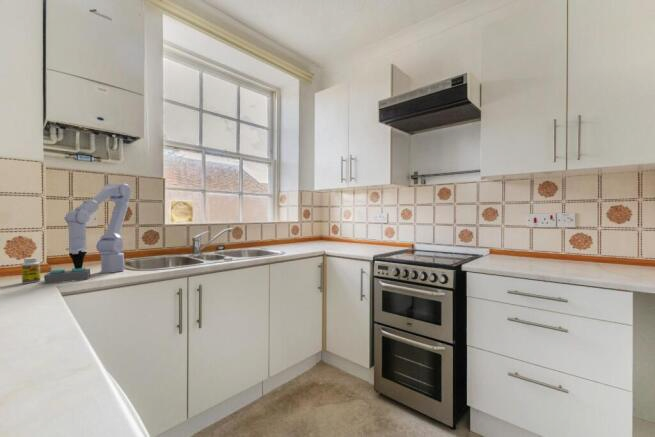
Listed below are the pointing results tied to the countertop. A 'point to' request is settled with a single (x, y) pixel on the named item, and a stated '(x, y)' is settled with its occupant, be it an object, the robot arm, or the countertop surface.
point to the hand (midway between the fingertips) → (78, 268)
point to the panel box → (66, 276)
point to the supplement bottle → (30, 270)
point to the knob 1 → (57, 271)
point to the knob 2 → (78, 269)
